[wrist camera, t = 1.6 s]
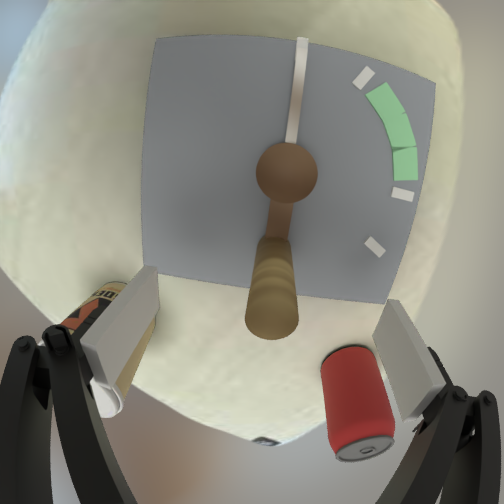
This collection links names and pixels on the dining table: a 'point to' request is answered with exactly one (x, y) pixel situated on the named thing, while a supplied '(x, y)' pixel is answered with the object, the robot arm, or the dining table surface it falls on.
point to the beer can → (356, 405)
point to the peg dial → (280, 224)
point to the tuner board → (266, 135)
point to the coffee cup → (114, 398)
